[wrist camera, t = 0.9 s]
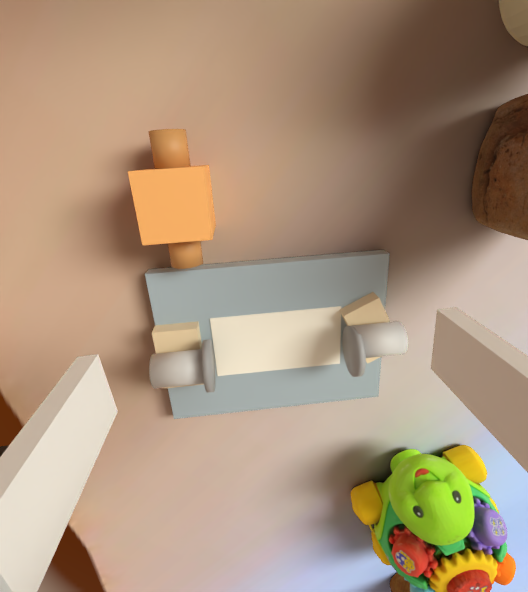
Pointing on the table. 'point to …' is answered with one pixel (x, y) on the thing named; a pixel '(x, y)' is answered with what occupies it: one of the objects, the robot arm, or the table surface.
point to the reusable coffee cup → (515, 19)
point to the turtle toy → (437, 522)
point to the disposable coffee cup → (399, 584)
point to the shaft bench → (271, 332)
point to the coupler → (174, 199)
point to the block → (504, 172)
